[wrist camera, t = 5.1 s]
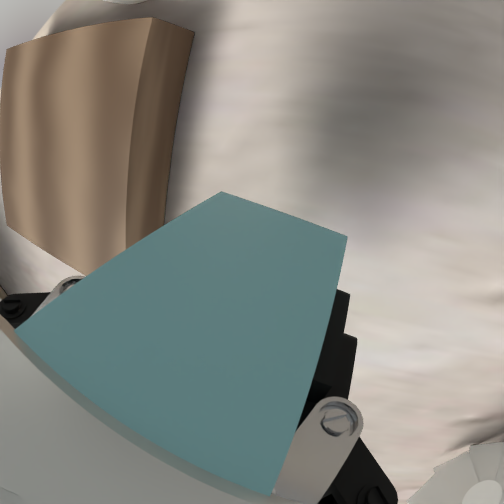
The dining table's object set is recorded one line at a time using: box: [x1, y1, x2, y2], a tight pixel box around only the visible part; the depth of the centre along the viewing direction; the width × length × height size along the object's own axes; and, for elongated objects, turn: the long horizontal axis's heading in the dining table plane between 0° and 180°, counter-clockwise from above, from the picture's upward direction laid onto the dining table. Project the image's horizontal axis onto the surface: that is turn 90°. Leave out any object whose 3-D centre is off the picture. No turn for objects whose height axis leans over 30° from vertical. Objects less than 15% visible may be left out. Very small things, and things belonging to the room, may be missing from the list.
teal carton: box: [14, 192, 347, 496], centre depth 8 cm, size 5×5×9 cm
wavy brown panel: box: [0, 17, 195, 276], centre depth 17 cm, size 16×16×4 cm
